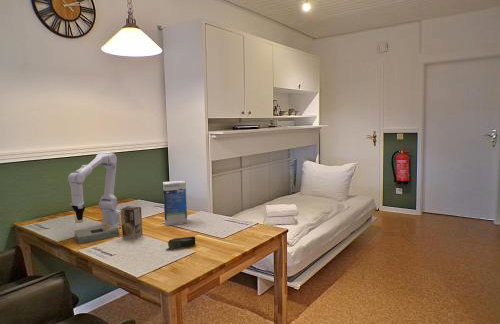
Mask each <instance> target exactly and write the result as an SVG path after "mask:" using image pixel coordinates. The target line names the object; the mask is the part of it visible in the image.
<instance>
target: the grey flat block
mask: <svg viewBox="0 0 500 324" xmlns="http://www.w3.org/2000/svg"><path fill="white" fill-rule="evenodd" d="M109 225H113V224H109ZM103 226H104V225H98V226H93V227H86V228H81V229H76V230H73V231H74V232H73V233H74V235H73V236H74V238H75V240H76V241H77V243H78V245H81V244H87V243H91V242H97V241H102V240H107V239H111V238H118V237H119V236H120V234H119V233H120V232H119V230H120V229H116V230H111V231H106V230H105V229H104V228H103Z"/></svg>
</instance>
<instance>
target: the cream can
mask: <svg viewBox="0 0 500 324" xmlns="http://www.w3.org/2000/svg"><path fill="white" fill-rule="evenodd" d="M73 213H74V222H75V224H81V223H84V217H83V218H82V220H78V219H77V216H76V213H75V211H74V210H73Z"/></svg>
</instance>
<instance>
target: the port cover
mask: <svg viewBox="0 0 500 324" xmlns="http://www.w3.org/2000/svg"><path fill="white" fill-rule="evenodd" d="M102 226H103V225H102ZM103 228H104V229H105V230H106V231H111V230H116V229H118V230H122V226H121V225H120V224H119V225H118V224H113V225H109V224H108V223H106V222H104V226H103Z"/></svg>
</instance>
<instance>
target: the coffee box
mask: <svg viewBox="0 0 500 324" xmlns="http://www.w3.org/2000/svg"><path fill="white" fill-rule="evenodd" d="M142 217H143V216H142V207H141V206H130V205H129V206H125V207H122V208H120V223H121V233H122V238H124V239H125V238H126V239H127V238H128V239H135V240H137V239H138V238H140V237H142V236H143V220H142V219H143V218H142Z"/></svg>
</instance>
